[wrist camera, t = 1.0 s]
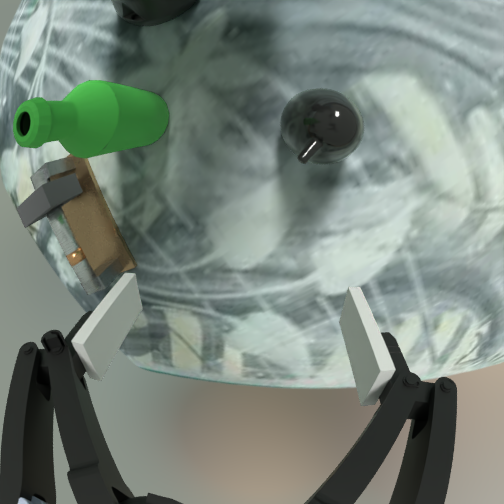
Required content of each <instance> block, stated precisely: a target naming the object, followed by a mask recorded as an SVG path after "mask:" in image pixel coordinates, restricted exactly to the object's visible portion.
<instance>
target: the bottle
mask: <svg viewBox="0 0 504 504" xmlns="http://www.w3.org/2000/svg"><path fill="white" fill-rule="evenodd" d="M168 119H169V112H168V108H167V104H166V103H165V102H164V100H163V99H162V98H161V97H160V96H158V95H156V94H155V93H152V92H149V91H145V90H141V89H137V88H133V87H129V86H125V85H120V84H116V83H111V82H106V81H101V80H89V81H86V82H84V83H82V84H79V85H78V86H77V87H76V88H74V89H73V90H72V91H71V92H70V93H69V94H68V95H67V96H66V97H65V98H64V99H63V100H62V101H46V100H44V99H43V98H40V97H36V98H33V99H30V100H27V101H25V102H24V103H22V104H21V105H20V106H19V108H18V109H17V112H16V114H15V117H14V122H13V132H14V137H15V139H16V141H17V143H18V144H19V145H20V146H22V147H29V148H38V147H40V146H42V145H43V144H44V143H46V142H51V141H57V140H59V142H60V143H61V144H62V146H63V147H64V148H65V149H66V151H68V152H69V153H70V154H72V155H73V156H75V157H79V158H85V159H86V158H90V157H94V156H98V155H102V154H107V153H112V152H116V151H121V150H126V149H131V148H136V147H141V146H147V145H150V144H152V143H154V142H155V141H157V140H158V139H159V138H160V137H161V136H162V135H163V133H164V132H165V129H166V127H167V125H168Z"/></svg>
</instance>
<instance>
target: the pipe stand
mask: <svg viewBox="0 0 504 504" xmlns="http://www.w3.org/2000/svg"><path fill="white" fill-rule="evenodd" d="M74 173H75V174H76V176H77V179H78V181H79V184H80V186H81V189H82V191H83V192H82V193H81V194H79V195H78V196H76V197H75V198H73V199H72V200H71V201H69V202H68V203H66V204H65V205H63V206H62V207H61V205H58V206H56V207H54V208H52V209H51V210H49V211H48V212H47V213H46V215H47V218H48V220H49V222H50V224H51V226H52V229H53V231H54V233H55V235H56V237H57V239H58V241H59V243H60V245H61V247H62V249H63V251H64V253H65V255H66V257H67V259H68V261H69V263H70V265H71V266H72V268H73V269H74V271H75V273H76V275H77V276H78V278H79V280H80V281H81V285H82V286H83V288H84V290H85V291H86V293H87V295H90V294H92V293H95V292H98V291H101V290H103V289H106V288H107V287H108V286H109V285H110V283H111V282H112V281H113V280H114V279H115V278H116V277H117V276H118V275H119V274H120V273H121V272H124V271H127V270H129V269H132V268H135V267H136V266H137V263H136V262H135V260H134V258H133V256H132V254H131V252H130V250H129V248H128V247H127V245H126V243H125V241H124V239H123V237H122V235H121V233H120V231H119V229H118V227H117V225H116V223H115V221H114V219H113V216H112V214H111V212H110V210H109V208H108V206H107V204H106V201H105V199H104V197H103V195H102V192H101V190H100V188H99V186H98V183H97V181H96V178H95V176H94V174H93V171H92V169H91V166H90V164H89V161H88V159H87V158H86V159H85V158H79V157H75V156H73V155H72V154H70V155H69V156H67V157H66V158H63V159H59V160H55V161H51V162H48V163H45V164H44V165H43V166H42V167H41V168H40V169H39V170H38V171H37V172H36V173H35V174H33V175H32V176H31V177H30V178H31V181H32V183H33V186H34V189H35V190H37V189H38V188H39V187H40V186H41V185H43V184H45V183H48V182H51V181H53V180H56V179H59V178H62V177H65V176H68V175H71V174H74Z"/></svg>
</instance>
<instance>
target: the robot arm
mask: <svg viewBox="0 0 504 504" xmlns="http://www.w3.org/2000/svg"><path fill="white" fill-rule="evenodd" d="M111 1H112V3H113V5H114V8H115V10H116V12H117V13H118V15H119V16H120V17H121V18H123V19H124V20H126V21H127V22H129V23H131V24H134V25H138V26H152V25H157V24H161V23H164V22H167V21H169V20H171V19H173V18H175V17H177V16H179V15H180V14H182V13H183V12H185V11H186V10H188V9H189V8H190V7H191V6H192V5H193V4H194V3H195V2H196V1H197V0H111ZM142 309H143V308H142V303H141V299H140V294H139V289H138V284H137V279H136V274H134V273H125V274H124V275H123V276H122V277H121V278H120V279H119V281H118V282H117V283H116V284H115V285H114V287H113V288H112V289H111V290H110V291H109V293H108V294H107V295H106V296H105V298H104V299H103V300H102V301H101V303H100V304H99V305H98V306H97V308H96V309H95V310H94V311H89V312H87V313H86V314H85V315H83V316H82V317H81V319H80V320H79V322H78V323H77V324H76V325H75V327H74V328H73V329H72V330H71V331H70V333H69V334H68V335H67V337H66V338H65V339H64V337H63V335H62V333H61V332H60V331H58V330H51V331H49V332H47V333H45V334H44V335H43V337H42V339H41V343H42V344H43V346H44V348H45V349H38V347H37V345H36V344H35V343H34V342H28V343H26V344H24V345H23V346H22V347H21V348H20V350H19V353H18V356H17V360H16V364H15V367H14V371H13V375H12V380H11V384H10V389H9V394H8V399H7V405H6V410H5V417H4V424H3V434H2V445H1V464H0V465H1V466H0V504H56V489H55V478H54V464H53V414H54V408H55V413H56V418H57V423H58V427H59V431H60V436H61V439H62V443H63V447H64V450H65V454H66V457H67V460H68V463H69V467H70V471H69V472H68V473H67V476H68V480H69V483H70V486H71V488H72V491H73V494H74V496H75V499H76V501H77V503H78V504H182V503H180V502H178V501H175V500H173V499H170V498H166V497H162V496H158V495H154V494H151V493H148V495H147V496H140V497H134V495H133V494H132V492H131V491H130V489H129V488H128V487H127V486H126V484H125V483H124V481H123V479H122V477H121V475H120V473H119V471H118V469H117V467H116V464H115V462H114V460H113V458H112V456H111V453H110V451H109V448H108V446H107V443H106V441H105V438H104V436H103V433H102V430H101V428H100V425H99V422H98V419H97V417H96V414H95V411H94V407H93V404H92V401H91V398H90V394H89V391H88V387H87V384H86V380H85V378H84V376H83V375H84V373H85V372H87V373H88V375H89V377H90V378H92V379H95V380H99V381H102V379H103V377H104V375H105V373H106V371H107V369H108V368H109V366H110V364H111V362H112V360H113V359H114V357H115V355H116V353H117V352H118V350H119V348H120V346H121V344H122V343H123V341H124V339H125V338H126V336H127V334H128V332H129V331H130V329H131V327H132V326H133V324H134V322H135V321H136V319H137V317H138V316H139V314H140V312H141V311H142ZM339 323H340V327H341V330H342V334H343V337H344V341H345V345H346V348H347V352H348V356H349V360H350V363H351V367H352V371H353V375H354V379H355V383H356V387H357V391H358V395H359V400H360V404H361V406H368V405H375V404H376V402H377V401H378V399H380V403H381V405H380V407H379V408H378V410H377V411H376V412H375V414H374V416H373V418H372V419H371V421H370V423H369V424H368V425H367V427H366V428H365V430H364V431H363V433H362V434H361V436H360V437H359V438H358V440H357V441H356V443H355V444H354V445H353V447H352V448H351V450H350V451H349V452H348V453H347V455H346V456H345V458H344V459H343V460H342V461H341V462H340V464H339V465H338V466H337V467H336V469H335V470H334V471H333V472H332V473H331V475H330V476H329V477H328V478H327V480H326V481H325V482H324V483H323V484H322V485H321V486H320V488H319V489H318V490H317V491H316V492H315V493H314V494H313V495H312V496H311V497H310V498H309V499H308V500H307V501H306V502H305V503H304V504H354V503H355V502H356V500H357V499H358V497H359V496H360V495H361V494H362V492H363V491H364V490H365V488H366V487H367V485H368V484H369V482H370V481H371V479H372V478H373V477H374V475H375V474H376V472H377V471H378V469H379V467H380V466H381V464H382V463H383V461H384V459H385V458H386V456H387V454H388V453H389V451H390V449H391V447H392V446H393V444H394V442H395V441H396V439H397V437H398V435H399V433H400V431H401V429H402V428H403V426H404V423H405V422H406V419H412V421H411V426H410V431H409V436H408V440H407V445H406V449H405V453H404V457H403V461H402V465H401V469H400V472H399V475H398V479H397V482H396V485H395V488H394V491H393V494H392V497H391V500H390V503H389V504H444V502H445V498H446V494H447V489H448V484H449V478H450V473H451V467H452V460H453V452H454V444H455V432H456V415H457V387H456V384H455V383H454V382H453V381H452V380H451V379H449V378H447V377H441V378H439V379H438V380H437V381H436V382H435V383H429V382H423V381H421V379H420V378H419V377H418V376H417V375H416V374H414V373H411V372H410V371H409V368H408V366H407V364H406V361H405V359H404V357H403V354H402V352H401V350H400V348H399V347H398V343H397V341H396V339H395V338H394V337H393V336H392V335H391V334H390V333H389V332H385V333H381V332H380V330H379V328H378V326H377V323H376V321H375V319H374V317H373V314H372V312H371V310H370V308H369V306H368V303H367V301H366V299H365V297H364V295H363V293H362V291H361V288H360V287H348V290H347V294H346V298H345V302H344V306H343V310H342V314H341V317H340V321H339Z"/></svg>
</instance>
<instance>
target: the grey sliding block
mask: <svg viewBox="0 0 504 504" xmlns="http://www.w3.org/2000/svg"><path fill="white" fill-rule="evenodd" d="M82 192H83V191H82V189H81V186H80V184H79V181H78V179H77V176H76V174H75V173H74V174H71V175H68V176H65V177H62V178H59V179H56V180H53V181H51V182H48V183H45V184H43V185H41V186H40V187H39V188H38V189H37V190H35V191H34V192H33V193H32V194H31V195H30V196H29V197H28V198H27V199H26V200H25V201H24V202H23V203H22V204H21V205H20V206H19V207H18V208H17V211H18V213H19V215H20V218H21V220H22V222H23V225H24V227H25V228H26V227H28V226H29V225H31V224H33V223H35V222H37V221H38V220H40V219H42V218H44V217H46V216H47V215H46V213H47V212H48V211H49V210H51V209H52V208H54V207H56V206H58V205H61V207H62V206H63V205H65V204H66V203H68V202H69V201H71V200H72V199H73V198H75V197H76V196H78V195H79V194H81V193H82Z"/></svg>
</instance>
